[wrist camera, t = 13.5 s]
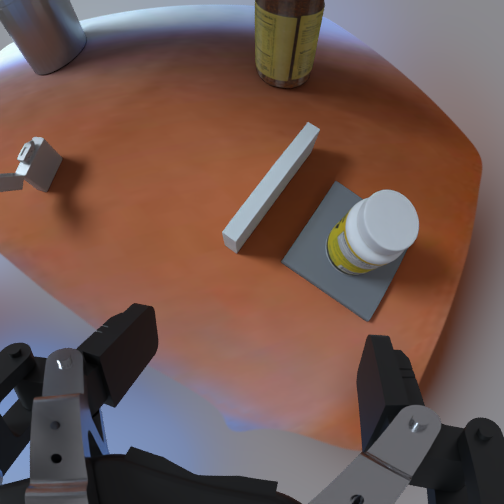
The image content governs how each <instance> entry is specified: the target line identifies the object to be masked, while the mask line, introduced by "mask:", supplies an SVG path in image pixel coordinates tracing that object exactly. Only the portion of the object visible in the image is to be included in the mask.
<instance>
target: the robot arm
mask: <svg viewBox="0 0 504 504" xmlns="http://www.w3.org/2000/svg"><path fill="white" fill-rule="evenodd" d="M0 21H1V23H2V24H3V26H4V27H5V29H6V30H7V32H8V33H9V35H10V36H11V38H12V40H13V41H14V43H15V44H16V46H17V47H18V48H19V50H20V51H21V53H22V54H23V56H24V57H25V59H26V60H27V62H28V63H29V65H30V66H31V67H32V69H33V70H34V72H35V73H36V74H39V75H43V74H48V73H51V72H53V71H56V70H58V69H59V68H61V67H63V66H64V65H66V64H67V63H69V62H70V61H71V60H72V59H74V58H75V57H76V56H77V55H78V54H79V53H80V51H81V50H82V49H83V47H84V46H85V43H86V36H85V33H84V31H83V29H82V27H81V25H80V22H79V20H78V18H77V16H76V13H75V11H74V9H73V7H72V5H71V3H70V0H0ZM157 348H158V333H157V326H156V318H155V311H154V308H153V307H152V306H147V305H142V304H137V303H134V304H132V305H131V306H130V307H129V308H128V309H127V310H126V311H125V312H123V313H120V314H118V315H115V316H113V317H111V318H110V319H109V320H107V321H106V322H105V323H104V324H103V326H101V327H100V328H99V329H97V332H94V333H93V334H92V335H91V336H90V337H89V338H88V339H87V340H85V341H84V342H83V343H82V344H81V345H80V346H79V347H78V348H77V349H72V348H64V349H59V350H57V351H55V352H53V353H52V354H50V355H49V356H48V358H42V357H34V356H33V353H32V351H31V348H30V347H29V345H27V344H25V343H14V344H11V345H9V346H7V347H5V348H4V349H3V350H2V351H1V352H0V402H1V401H2V400H3V399H4V398H5V397H6V396H7V395H8V394H9V392H10V391H11V390H12V389H13V388H14V390H15V392H16V394H17V396H18V398H19V399H18V400H17V402H15V404H14V405H13V406H12V407H11V408H10V409H9V410H8V411H7V412H6V414H5V415H4V416H3V417H2V416H1V414H0V504H302V503H300V502H299V501H297V500H295V499H293V498H292V497H290V496H287V495H285V494H283V493H280V492H277V491H276V489H277V484H278V482H276V481H268V480H261V479H254V478H248V477H242V476H203V475H196V474H193V473H191V472H189V471H187V470H186V469H184V468H182V467H180V466H178V465H176V464H174V463H173V462H171V461H169V460H167V459H166V458H164V457H161V456H158V455H154V454H152V453H149V452H146V451H143V450H140V449H137V448H134V447H130V449H129V450H128V452H127V454H126V455H124V454H109V450H108V446H107V440H106V435H105V430H104V423H103V416H102V411H101V408H100V407H101V406H102V405H103V404H107V405H110V406H112V407H116V406H117V404H118V403H119V402H120V400H121V399H122V398H123V396H124V395H125V394H126V392H127V391H128V390H129V388H130V387H131V386H132V384H133V383H134V382H135V380H136V379H137V378H138V376H139V375H140V374H141V372H142V371H143V370H144V368H145V367H146V366H147V364H148V363H149V362H150V360H151V359H152V358H153V356H154V355H155V354H156V351H157ZM357 393H358V403H359V413H360V425H361V438H362V452H361V453H360V454H359V455H358V456H357V457H356V458H355V459H354V460H353V461H352V462H351V464H349V465H348V467H347V468H346V469H345V470H344V471H343V472H342V473H341V474H340V475H339V476H338V477H337V478H335V480H333V481H332V482H331V483H330V484H329V485H328V486H327V487H326V488H325V489H324V490H323V491H322V492H321V493H320V494H318V495H317V496H316V497H315V498H314V499H313V500H312V501H310V502H309V503H308V504H394V503H395V502H396V500H397V499H398V498H399V496H400V495H401V493H402V492H403V491H404V489H405V488H406V487H407V485H408V484H409V485H413V486H419V487H424V488H427V494H428V504H504V437H503V434H502V432H501V429H500V428H499V426H498V425H497V424H496V423H495V422H493V421H491V420H489V419H486V418H475V419H472V420H471V421H470V422H469V423H468V424H467V425H466V427H465V428H459V427H453V426H448V425H444V424H441V421H440V418H439V416H438V415H437V414H436V413H435V412H434V411H433V410H431V409H430V408H428V407H425V405H424V402H423V399H422V396H421V392H420V389H419V386H418V383H417V380H416V379H415V374H414V371H412V366H411V363H410V360H409V358H408V357H407V356H406V355H405V354H404V353H403V352H402V351H401V350H393V346H392V343H391V340H390V337H389V336H383V335H368V336H367V339H366V342H365V346H364V350H363V354H362V357H361V361H360V364H359V368H358V372H357ZM29 441H30V478H27V479H24V480H20V481H16V482H12V483H8V484H4V485H2V480H3V476H4V475H5V473H6V472H7V470H8V469H9V468H10V466H11V465H12V464H13V462H14V461H15V460H16V458H17V457H18V456H19V454H20V453H21V452H22V450H23V449H24V448H25V446H26V445H27V444H28V443H29Z"/></svg>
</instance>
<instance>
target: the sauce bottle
mask: <svg viewBox="0 0 504 504" xmlns="http://www.w3.org/2000/svg"><path fill="white" fill-rule="evenodd" d="M324 7H325V4H324V0H255V63H256V69H257V72H258V74H259V75H260V77H261V78H262V79H263V80H264V81H265V82H266V83H268V84H269V85H272V86H276V87H282V88H294V87H297V86H300V85H301V84H303V83H304V82H306V81H307V80H308V78H309V74H310V71H311V69H312V67H313V62H314V57H315V52H316V47H317V42H318V37H319V32H320V26H321V21H322V16H323V11H324Z"/></svg>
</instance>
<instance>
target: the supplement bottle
mask: <svg viewBox="0 0 504 504" xmlns="http://www.w3.org/2000/svg"><path fill="white" fill-rule="evenodd" d="M418 230H419V220H418V216H417V213H416V210H415V208H414V206H413V205H412V203H411V202H410V201H409V200H408V199H407V198H406V197H405V196H404V195H402V194H401V193H398V192H396V191H393V190H381V191H378V192H376V193H374V194H373V195H371V196H370V197H369V198H366V199H363V200H361V201H359V202H358V203H356V204H355V205H354V206H353V207H352V208H351V209H350V210H349V212H348V213H347V214H346V215H345V216H344V217H343V218H342V219H341V220H340V221H339V222H338V223H337V224H336V225H335V227H334V228H333V229H332V230H331V231H330V233H329V235H328V237H327V240H326V254H327V257H328V259H329V261H330V263H331V264H332V266H333V267H334V268H335V269H336V270H337V271H339V272H340V273H342V274H345V275H349V276H358V275H362V274H364V273H367V272H369V271H371V270H374V269H376V268H378V267H381V266H383V265H386V264H388V263H390V262H392V261H394V260H395V259H397V258H398V257H399V256H400V255H401V254H402V252H403V251H404V250H405V249H407V248H408V247H410V246H411V245H412V244H413V243H414V241H415V239H416V237H417V235H418Z"/></svg>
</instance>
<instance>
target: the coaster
mask: <svg viewBox="0 0 504 504" xmlns="http://www.w3.org/2000/svg"><path fill="white" fill-rule="evenodd" d="M361 200H363V199H362V198H360V197H359V196H357V195H356V194H355V193H353V192H352V191H350V190H349V189H347V188H346V187H344V186H343V185H342V184H340V183H339V182H337V181H335V182H334V184H333V185H332V187H331V188H330V190H329V191H328V193H327V195H326V196H325V198H324V199H323V201H322V202H321V204H320V205H319V207H318V208H317V210H316V211H315V213H314V214H313V216H312V217H311V219H310V220H309V222H308V223H307V225H306V226H305V227H304V229H303V230H302V232H301V233H300V235H299V236H298V238H297V239H296V241H295V242H294V244H293V245H292V247H291V248H290V250H289V251H288V253H287V254H286V255H285V257H284V258H283V260H282V261H281V263H283V264H284V265H285V266H287V267H288V268H290V269H291V270H293V271H294V272H296V273H297V274H299V275H300V276H301V277H303V278H304V279H306V280H307V281H309V282H310V283H312V284H313V285H314V286H316V287H317V288H319V289H320V290H322V291H323V292H325V293H326V294H327V295H329V296H330V297H332V298H333V299H335V300H336V301H338V302H339V303H340V304H342V305H343V306H345V307H346V308H348V309H349V310H351V311H352V312H353V313H355V314H356V315H358V316H359V317H361V318H362V319H363V320H365V321H369V320H370V318H371V317H372V315H373V313H374V312H375V310H376V308H377V306H378V305H379V303H380V301H381V299H382V297H383V296H384V294H385V292H386V290H387V288H388V286H389V284H390V283H391V281H392V279H393V277H394V275H395V273H396V271H397V269H398V267H399V265H400V263H401V261H402V259H403V257H404V255H405V253H406V251H407V249H408V248H407V249H405V250H404V251H403V252H402V254H401V255H400V256H399V257H398V258H397V259H395V260H394V261H392V262H390V263H388V264H386V265H383V266H381V267H378V268H376V269H374V270H371V271H369V272H367V273H364V274H362V275H358V276H349V275H345V274H342V273H340V272H339V271H337V270H336V269H335V268H334V267H333V266H332V264H331V263H330V261H329V259H328V257H327V254H326V240H327V237H328V235H329V233H330V231H331V230H332V229H333V228H334V227H335V225H336V224H337V223H338V222H339V221H340V220H341V219H342V218H343V217H344V216H345V215H346V214H347V213H348V212H349V210H350V209H351V208H352V207H353V206H354V205H355V204H356V203H358V202H359V201H361Z"/></svg>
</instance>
